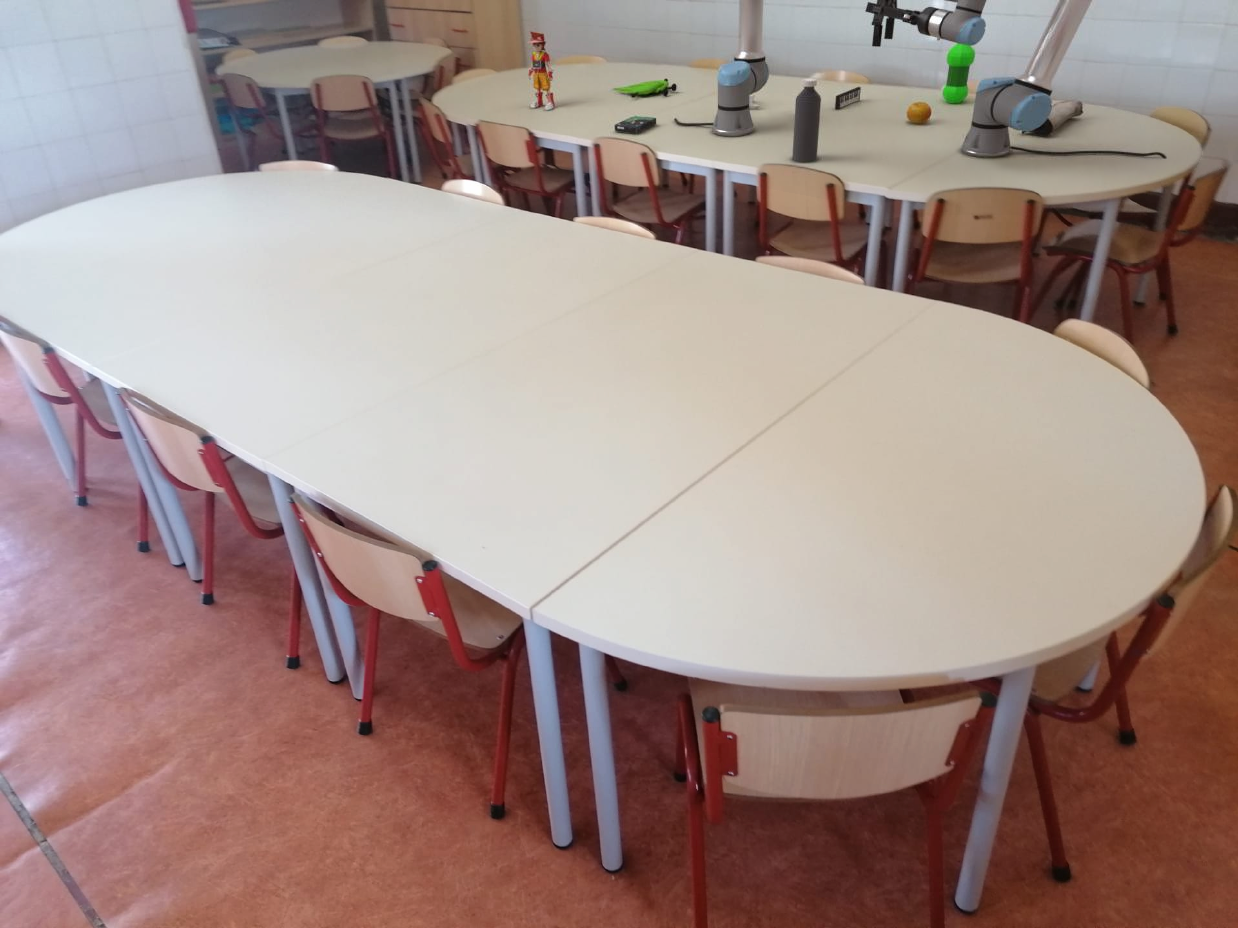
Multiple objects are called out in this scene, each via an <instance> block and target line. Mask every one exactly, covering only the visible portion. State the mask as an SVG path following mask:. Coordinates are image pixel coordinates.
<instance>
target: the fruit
mask: <svg viewBox="0 0 1238 928" xmlns="http://www.w3.org/2000/svg"><path fill="white" fill-rule="evenodd" d="M931 116H932V108H931V106H930V105H929V104H928V103H926V102H924V101H919V102H914V103H912V104H910V106H908V108H907V110H906V119H907V120H908V121H909V122H910V123H911V124H924V123H926V122H928V121H929V119H930V117H931Z"/></svg>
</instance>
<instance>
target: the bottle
mask: <svg viewBox="0 0 1238 928" xmlns="http://www.w3.org/2000/svg"><path fill="white" fill-rule="evenodd" d="M821 105H822V96H821V95H820V94H819V92H818V91H817V90H816V88H815V86H813V87H804V86H803V89H802V90H801V91H800V92H799V93H798V95H796V98H795V105H794V107H795V108H794V122H793V125H794V126H793V138H792V139H793V141H792V158H791V159H792V161H793V162H796V163H812V162H816V161H817V159H818V148H819V147H818V146H819V134H820V118H821V107H822V106H821Z"/></svg>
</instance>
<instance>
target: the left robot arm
mask: <svg viewBox="0 0 1238 928" xmlns="http://www.w3.org/2000/svg"><path fill="white" fill-rule="evenodd" d="M883 3H884V4H885V6H886V7H889V8H894V9H895V8H898V0H876V4H879V5H883ZM738 8H739V9H738V10H739V11H738V12H739V13H738V15H739V16H738V49H737V52H735V54H734V56H733V61H730V62H726V63H723V64H721V65H720V67H719V68H718V70H717V111H716V114H715V118H714V120H713V122H681V121H679V120H678V119H677V118H676V117H674V118H673V120H674V122H675V123H676V124H677V125H678V126H683V127H703V126H704V127H707V126H710V127H711V126H712V133H713V134H715V135H717V136H721V137H741V136H746V135H750V134H752V133H754V127H755V126H754V122H753V118H752V115H751V111H750V108H749V97H750V96H751V95H754V94H755V93H757V92H759V91H761V90H762V89H763V88H764V87H765V86H766V84H767V83H768V81H769V77H770V68H769V65H768V63H767V62H766V57H767V55H766V53H765V52H764V50H763V49H762V48H763V24H764V0H739V7H738ZM884 18H885V16H880V15H877V14H873V17H872V22H871V26H873V33H872V43H871V47H876V48H877V47H878V48H880V47H881V46H882V36H883V29H884V37H883V39H884V40H893V39H894V28H895V20H896V19H895V18H891V17H886V19H885V28H883V27H884V25H883V22H884Z"/></svg>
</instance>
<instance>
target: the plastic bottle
mask: <svg viewBox="0 0 1238 928" xmlns="http://www.w3.org/2000/svg"><path fill="white" fill-rule="evenodd" d="M975 57H976V51H975V49H974V47H972V46H970V45H964V44H959V43H955V44H954V45H953V46H952V47H951V48H950V49H949V50H948V52H947V54H946V63H947V64H948V69H947V70H948V71H947V76H946V77H947V78H946V84H945V85H944V87H943V90H942V97H943V99H944V100H945V101H946V102H947V103H948V104H960V103H961V102H963V101H964V100H966V98H967V96H968V95H969V85H968V79H969V73H970V67H971V65H972V64H973V63H974V61H975Z"/></svg>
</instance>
